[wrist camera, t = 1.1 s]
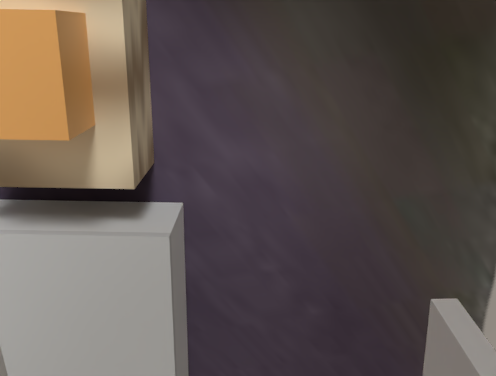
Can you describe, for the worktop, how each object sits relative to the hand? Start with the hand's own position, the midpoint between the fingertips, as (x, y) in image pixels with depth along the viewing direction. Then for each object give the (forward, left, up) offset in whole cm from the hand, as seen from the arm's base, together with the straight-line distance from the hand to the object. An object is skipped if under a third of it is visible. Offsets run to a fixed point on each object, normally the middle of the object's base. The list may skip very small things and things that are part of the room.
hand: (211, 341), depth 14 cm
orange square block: (-7, -11, -15) cm, 19 cm away
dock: (+11, -12, -20) cm, 26 cm away
